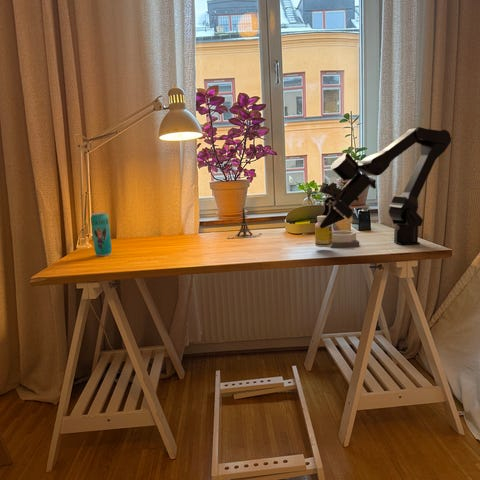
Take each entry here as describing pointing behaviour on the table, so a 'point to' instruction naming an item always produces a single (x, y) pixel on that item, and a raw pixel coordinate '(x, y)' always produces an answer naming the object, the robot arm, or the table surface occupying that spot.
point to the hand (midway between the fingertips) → (318, 226)
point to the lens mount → (344, 239)
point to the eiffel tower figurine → (245, 230)
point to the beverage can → (101, 234)
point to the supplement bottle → (323, 234)
